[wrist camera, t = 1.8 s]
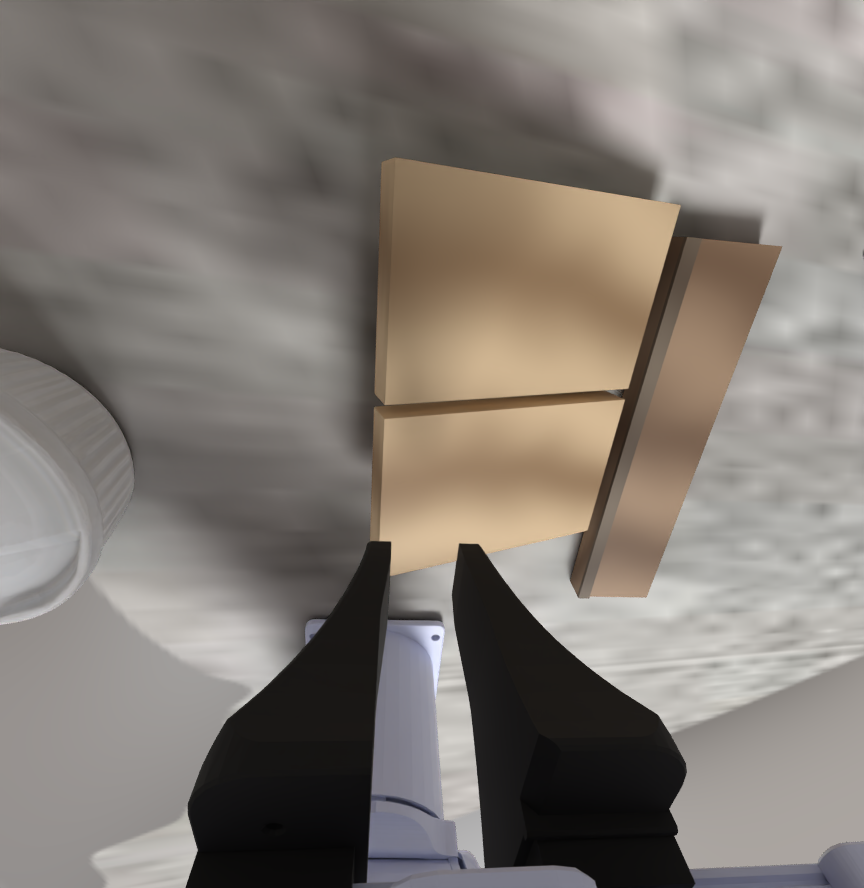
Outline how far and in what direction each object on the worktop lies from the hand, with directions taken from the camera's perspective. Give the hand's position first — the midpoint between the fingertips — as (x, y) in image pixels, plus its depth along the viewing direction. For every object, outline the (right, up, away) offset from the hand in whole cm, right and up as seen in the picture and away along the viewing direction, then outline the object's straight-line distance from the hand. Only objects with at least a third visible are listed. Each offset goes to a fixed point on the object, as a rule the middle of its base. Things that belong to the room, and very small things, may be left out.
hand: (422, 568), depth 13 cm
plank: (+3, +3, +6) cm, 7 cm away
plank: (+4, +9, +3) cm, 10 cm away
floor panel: (+11, +4, +8) cm, 14 cm away
